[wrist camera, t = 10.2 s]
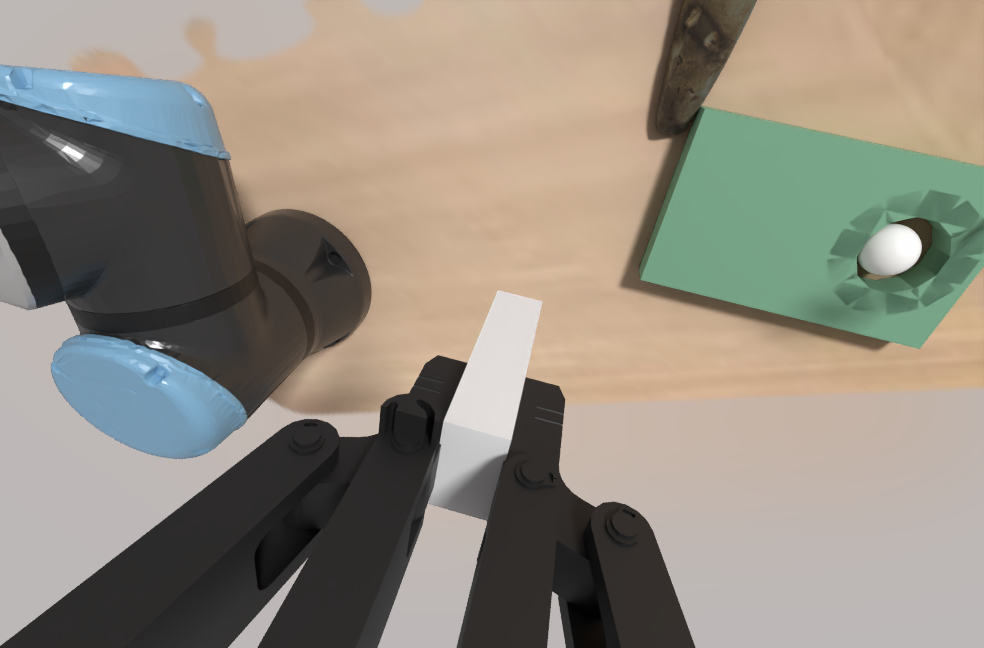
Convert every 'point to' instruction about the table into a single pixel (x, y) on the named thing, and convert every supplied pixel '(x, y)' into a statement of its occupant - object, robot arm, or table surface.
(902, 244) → the ball
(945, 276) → the green
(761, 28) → the table surface
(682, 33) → the stone
